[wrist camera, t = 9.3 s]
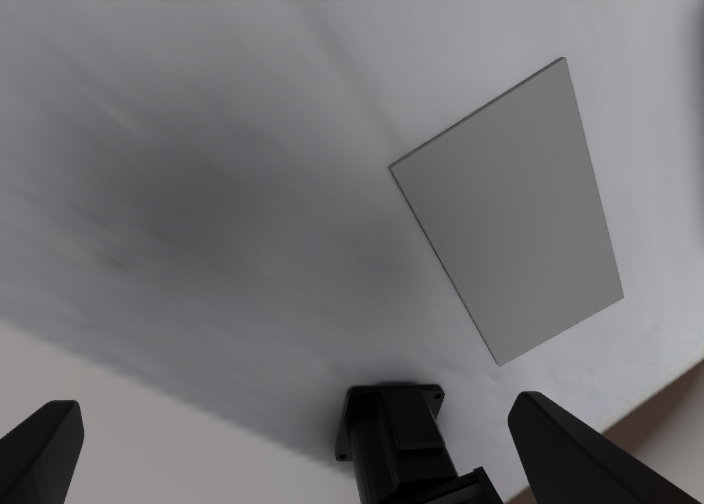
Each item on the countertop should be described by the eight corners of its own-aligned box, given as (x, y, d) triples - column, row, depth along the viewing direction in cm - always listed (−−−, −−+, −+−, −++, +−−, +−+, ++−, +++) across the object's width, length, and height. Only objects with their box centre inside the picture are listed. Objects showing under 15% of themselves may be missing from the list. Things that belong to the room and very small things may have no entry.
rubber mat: (620, 294, 26) (624, 297, 25) (497, 363, 26) (499, 366, 26) (561, 57, 18) (565, 57, 17) (388, 166, 19) (390, 168, 18)
